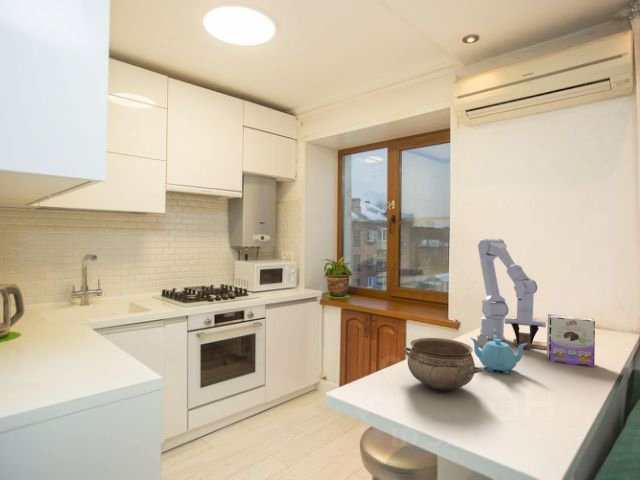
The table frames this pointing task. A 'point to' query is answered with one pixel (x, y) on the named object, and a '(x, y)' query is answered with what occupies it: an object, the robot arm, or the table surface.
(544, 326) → the robot arm
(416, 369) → the cooking pot
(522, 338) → the brown wooden block
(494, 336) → the teapot
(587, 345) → the candy box
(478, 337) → the lighter
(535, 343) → the board
